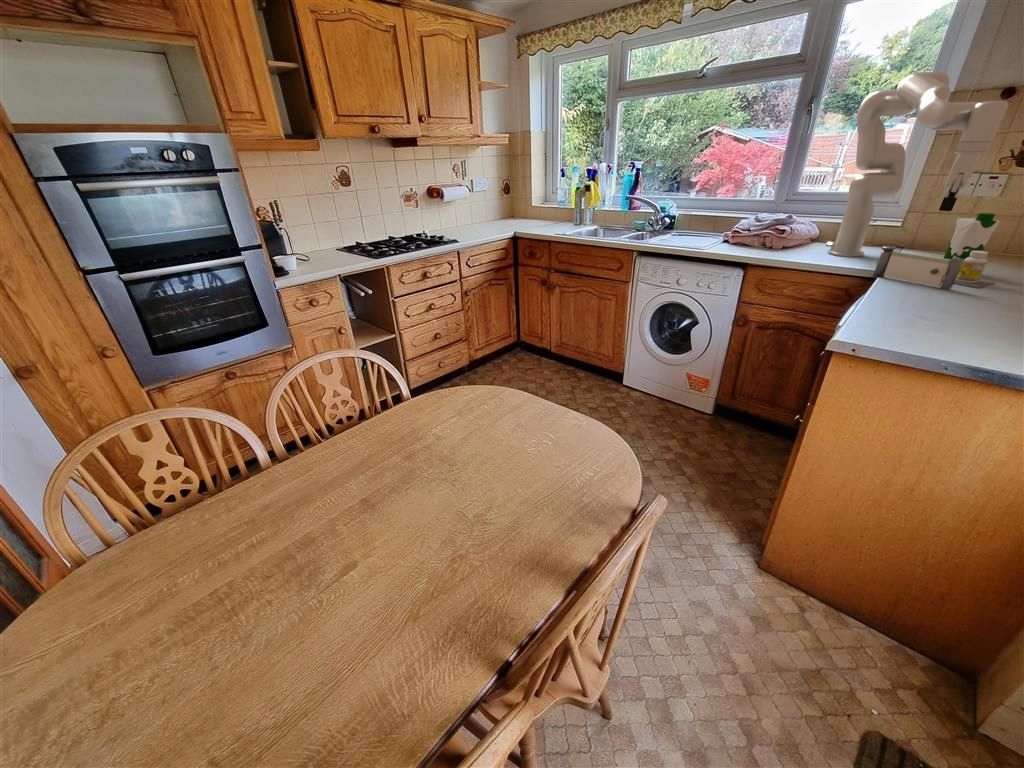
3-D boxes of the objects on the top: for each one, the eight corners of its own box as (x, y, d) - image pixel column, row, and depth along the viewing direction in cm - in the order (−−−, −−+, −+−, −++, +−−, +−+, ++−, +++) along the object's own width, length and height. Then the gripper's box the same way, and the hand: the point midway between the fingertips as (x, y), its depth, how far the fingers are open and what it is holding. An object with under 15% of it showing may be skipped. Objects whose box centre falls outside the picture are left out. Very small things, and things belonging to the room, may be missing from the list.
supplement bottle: (980, 283, 140) (995, 253, 136) (959, 282, 142) (972, 253, 138) (973, 279, 145) (987, 250, 140) (952, 278, 147) (965, 249, 142)
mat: (940, 281, 146) (940, 280, 146) (956, 277, 149) (956, 276, 149) (978, 288, 138) (978, 287, 138) (994, 283, 141) (995, 282, 141)
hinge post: (869, 275, 155) (879, 246, 150) (875, 274, 156) (886, 245, 151) (881, 278, 152) (891, 248, 147) (887, 276, 153) (898, 247, 148)
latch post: (935, 288, 139) (948, 258, 135) (940, 287, 140) (953, 257, 135) (945, 290, 137) (959, 260, 132) (950, 289, 138) (964, 259, 133)
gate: (881, 276, 152) (890, 252, 148) (885, 275, 153) (894, 251, 149) (936, 287, 139) (947, 260, 135) (940, 286, 140) (952, 259, 136)
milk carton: (951, 275, 152) (978, 215, 142) (931, 269, 160) (956, 211, 150) (978, 275, 151) (1007, 214, 142) (957, 269, 159) (983, 211, 149)
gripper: (956, 147, 141) (931, 207, 151) (955, 149, 132) (928, 212, 141) (988, 147, 137) (960, 208, 146) (989, 148, 128) (959, 214, 137)
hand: (945, 210), depth 144 cm, fingers closed
